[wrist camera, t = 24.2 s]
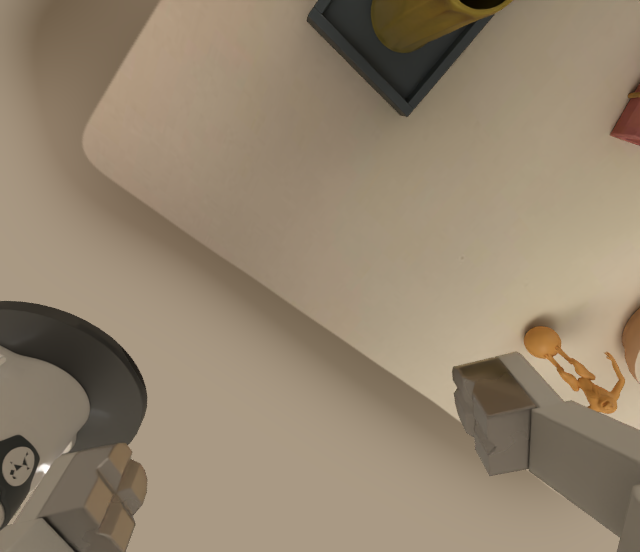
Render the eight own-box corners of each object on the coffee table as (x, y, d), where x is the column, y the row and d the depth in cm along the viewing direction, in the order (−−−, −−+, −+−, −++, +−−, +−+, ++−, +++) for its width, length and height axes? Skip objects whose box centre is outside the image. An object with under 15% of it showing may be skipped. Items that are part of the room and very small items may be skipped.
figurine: (551, 303, 46) (631, 366, 36) (575, 328, 48) (657, 395, 38) (498, 345, 49) (558, 416, 38) (523, 368, 51) (586, 441, 40)
